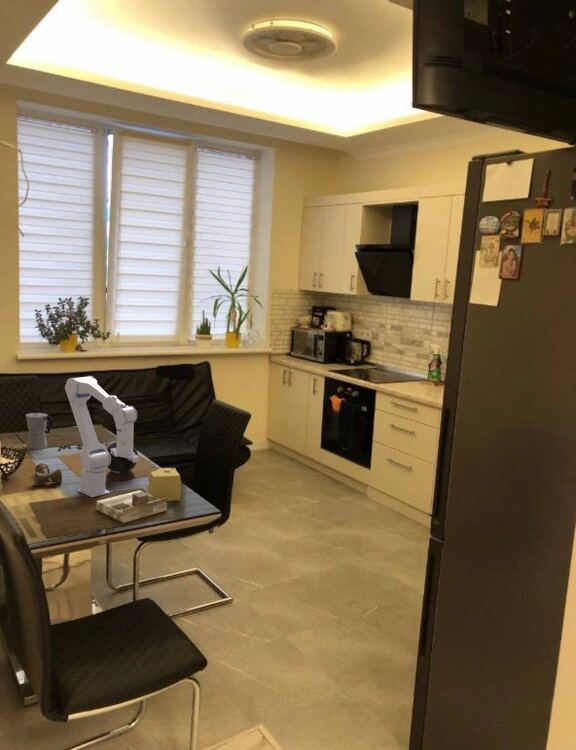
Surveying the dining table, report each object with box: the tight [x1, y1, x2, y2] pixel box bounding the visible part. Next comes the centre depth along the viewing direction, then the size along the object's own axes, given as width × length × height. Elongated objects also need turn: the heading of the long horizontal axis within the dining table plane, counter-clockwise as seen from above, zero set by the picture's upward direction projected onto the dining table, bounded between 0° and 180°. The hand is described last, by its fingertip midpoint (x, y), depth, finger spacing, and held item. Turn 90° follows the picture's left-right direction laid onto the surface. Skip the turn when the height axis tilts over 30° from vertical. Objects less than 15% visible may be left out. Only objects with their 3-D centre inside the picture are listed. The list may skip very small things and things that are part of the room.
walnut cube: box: [132, 491, 149, 506], centre depth 216 cm, size 4×4×4 cm
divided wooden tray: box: [96, 489, 168, 524], centre depth 220 cm, size 16×18×4 cm
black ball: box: [106, 441, 139, 482], centre depth 254 cm, size 13×13×15 cm
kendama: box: [33, 462, 63, 488], centre depth 243 cm, size 6×10×20 cm
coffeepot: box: [25, 408, 54, 451], centre depth 288 cm, size 15×9×18 cm, turn 70°
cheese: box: [147, 467, 182, 502], centre depth 234 cm, size 10×11×10 cm
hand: (124, 477), depth 225 cm, fingers closed
